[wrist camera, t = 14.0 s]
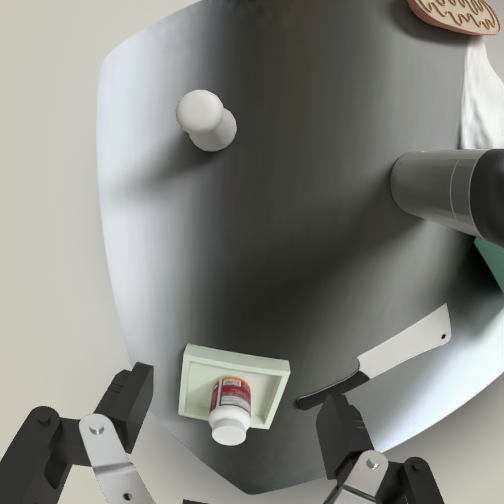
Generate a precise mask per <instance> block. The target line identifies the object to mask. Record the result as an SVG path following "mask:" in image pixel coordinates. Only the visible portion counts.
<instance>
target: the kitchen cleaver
mask: <svg viewBox="0 0 504 504" xmlns="http://www.w3.org/2000/svg"><path fill="white" fill-rule="evenodd" d="M443 334H445V337H444V338H443V339H441V337H442V335H443ZM450 338H451V326H450V319H449V314H448V309H447V304H446V303H445V304H444V305H442V306H441V307H439V308H438V309H437V310H435V311H434V312H432V313H431V314H429V315H428V316H426V317H425V318H423V319H421V320H420V321H418V322H417V323H415V324H414V325H412V326H410V327H409V328H407V329H406V330H404V331H402V332H401V333H399V334H397V335H396V336H394V337H392V338H391V339H389V340H387V341H385V342H384V343H382V344H380V345H378V346H376V347H375V348H373V349H371V350H369V351H367V352H366V353H364V354H362V355H360V356H358V357H357V358H358V360H359V363H360V367H359V369H358V370H357V371H356V372H355V373H353V374H352V375H350V376H349V377H347V378H345V379H343V380H341V381H339V382H337V383H335V384H333V385H330V386H328V387H326V388H324V389H321V390H319V391H317V392H314V393H312V394H309V395H306V396H302V397H299V398H298V400H297V402H298V405H299V407H300V408H301V409H302V410H308V409H310V408H312V407H314V406H317V405H319V404H321V403H323V402H324V401H325V399H326V397H327V396H328V395H329V394H338V395H341V394H343V393H345V392H347V391H349V390H351V389H354V388H356V387H358V386H359V385H361V384H363V383H365V382H367V381H369V380H370V379H371V378H373V377H375V376H377V375H379V374H381V373H383V372H385V371H387V370H388V369H390V368H392V367H394V366H396V365H398V364H400V363H402V362H404V361H406V360H408V359H410V358H412V357H414V356H416V355H418V354H421V353H423V352H425V351H427V350H430V349H432V348H435V347H438V346H440V345H443V344H445V343H447V342H448V341H449V340H450Z"/></svg>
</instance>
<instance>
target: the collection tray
mask: <svg viewBox="0 0 504 504" xmlns="http://www.w3.org/2000/svg"><path fill="white" fill-rule="evenodd" d="M227 375H234V376H239V377H241V378H243V379H244V380H246V381H247V382H248V384H249V386H250V390H251V424H250V427H254V428H263V429H269V427H270V425H271V422H272V420H273V417H274V415H275V412H276V410H277V407H278V404H279V402H280V399H281V396H282V394H283V391H284V388H285V386H286V383H287V380H288V377H289V375H290V367H289V362H288V361H287V360H280V359H273V358H266V357H259V356H253V355H246V354H240V353H235V352H229V351H223V350H218V349H213V348H208V347H203V346H198V345H193V344H189V343H187V346H186V349H185V352H184V356H183V366H182V376H181V387H180V399H179V412H178V415H182V416H187V417H192V418H196V419H202V420H207V421H209V413H210V406H211V398H212V391H213V386H214V383H215V382H216V381H217V380H218V379H219V378H221V377H223V376H227Z"/></svg>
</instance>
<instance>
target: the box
mask: <svg viewBox="0 0 504 504" xmlns="http://www.w3.org/2000/svg"><path fill="white" fill-rule="evenodd" d="M474 244H475V245H476V247H477V248H478V250H479V251H480V253H481V255H482V256H483V258H484V260H485V261H486V263H487V265H488V266H489V268H490V270H491V272H492V273H493V275H494V277H495V279H496V281H497V282H498V284H499V286H500V288H501V290H502V292H503V294H504V248H502V247H500V246H498V245H496V244H494V243H491V242H489V241H486V240H483V239H481V238H478V237H476V239H475V240H474Z"/></svg>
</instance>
